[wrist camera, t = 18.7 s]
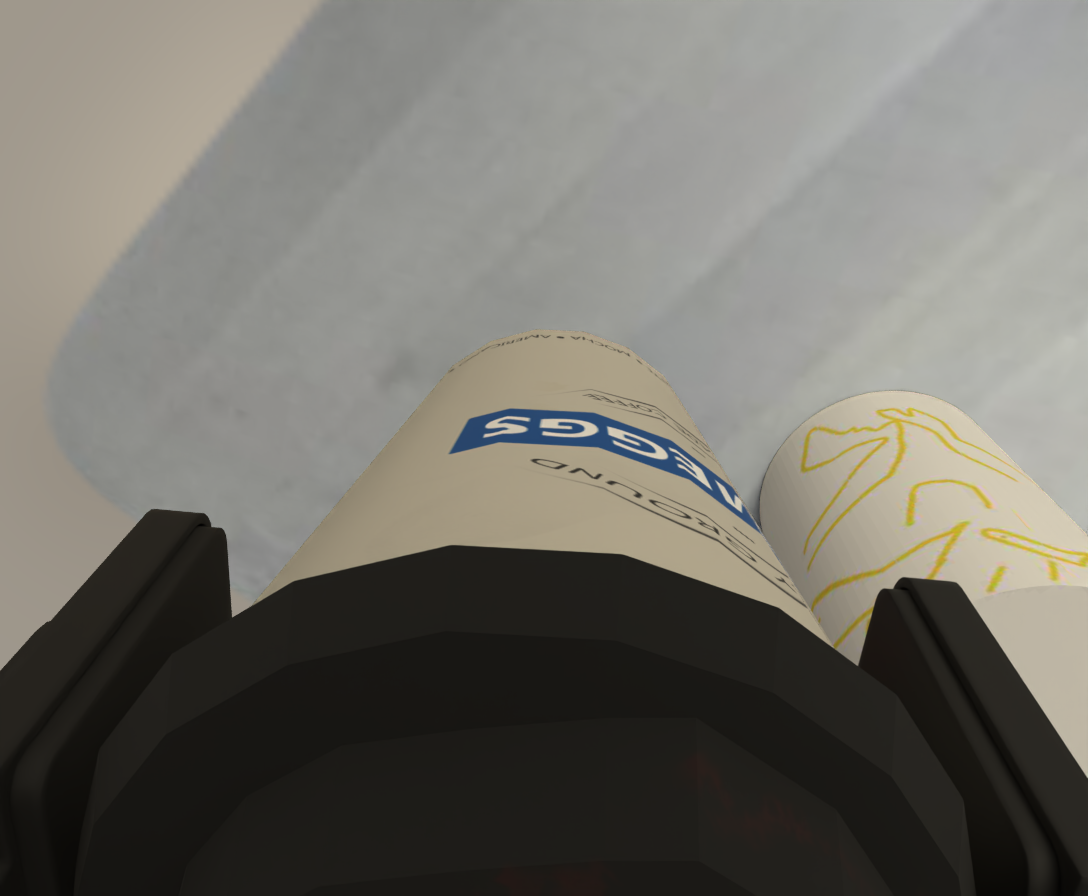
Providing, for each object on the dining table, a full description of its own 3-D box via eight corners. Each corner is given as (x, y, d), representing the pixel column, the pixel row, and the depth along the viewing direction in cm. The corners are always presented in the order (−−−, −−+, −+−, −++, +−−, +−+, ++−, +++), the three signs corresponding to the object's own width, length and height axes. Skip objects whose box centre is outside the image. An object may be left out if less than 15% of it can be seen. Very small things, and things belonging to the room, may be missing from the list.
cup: (957, 350, 31) (1167, 528, 20) (1028, 548, 33) (1246, 802, 22) (723, 451, 32) (794, 667, 21) (808, 632, 35) (910, 905, 24)
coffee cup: (541, 710, 17) (493, 1486, 8) (248, 450, 15) (-249, 1085, 6) (862, 481, 15) (1285, 1184, 6) (568, 145, 13) (532, 429, 4)
